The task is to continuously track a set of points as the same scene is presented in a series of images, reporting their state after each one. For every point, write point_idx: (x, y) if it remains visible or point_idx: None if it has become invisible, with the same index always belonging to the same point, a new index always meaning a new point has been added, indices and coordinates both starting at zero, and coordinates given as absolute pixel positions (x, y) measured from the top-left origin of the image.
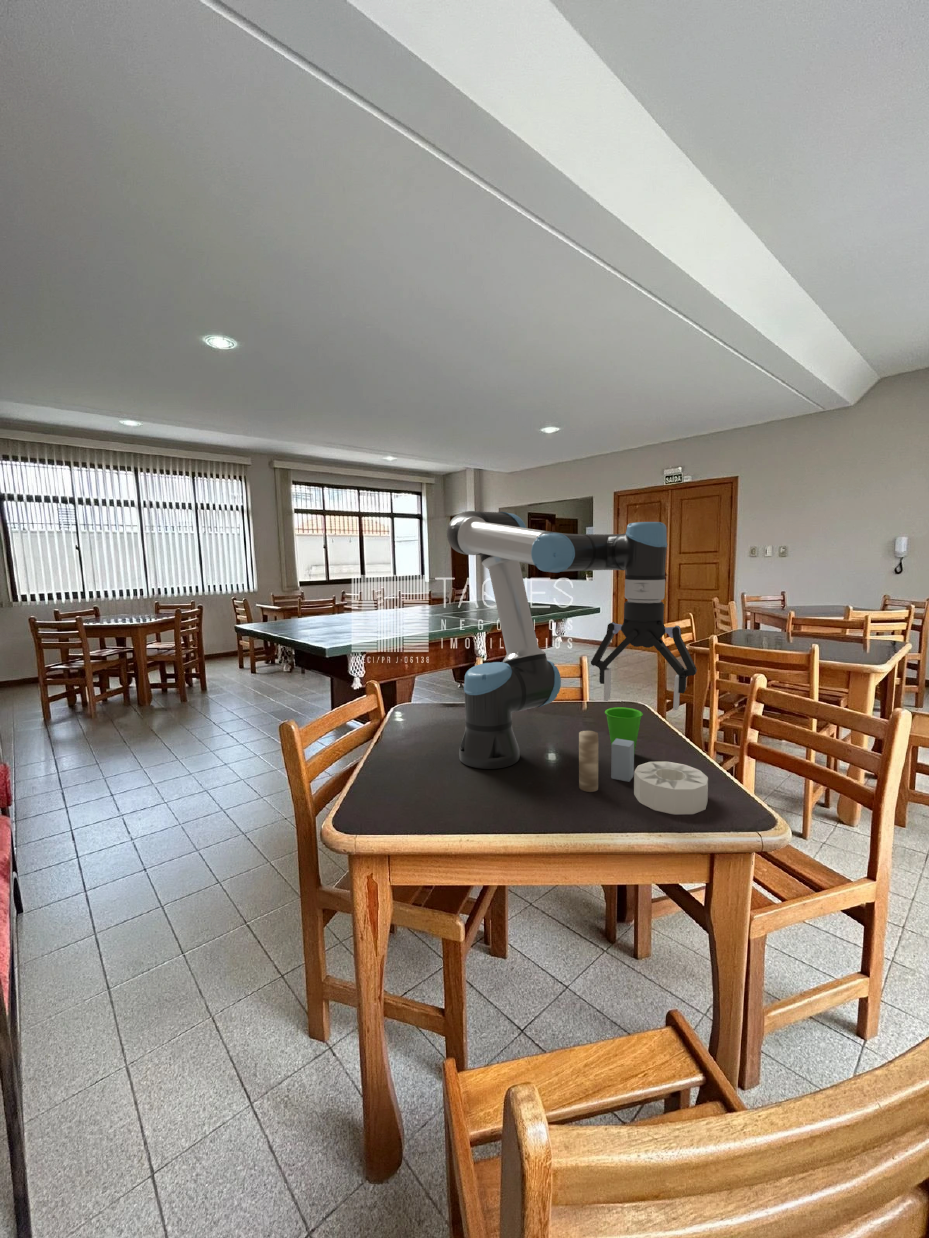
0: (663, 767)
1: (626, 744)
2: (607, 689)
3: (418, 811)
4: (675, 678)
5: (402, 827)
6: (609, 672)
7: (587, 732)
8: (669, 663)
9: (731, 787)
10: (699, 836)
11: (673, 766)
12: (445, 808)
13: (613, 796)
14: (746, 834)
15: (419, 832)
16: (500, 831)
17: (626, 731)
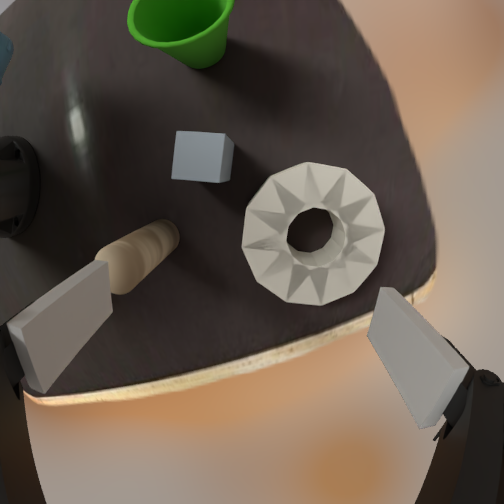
0: (301, 201)
1: (208, 168)
2: (90, 337)
3: None
4: (421, 425)
5: (50, 386)
6: (43, 357)
7: (109, 261)
8: (422, 491)
9: (406, 147)
10: (341, 334)
11: (322, 189)
12: None
13: (210, 256)
14: None
15: (64, 392)
16: (116, 384)
17: (197, 51)
